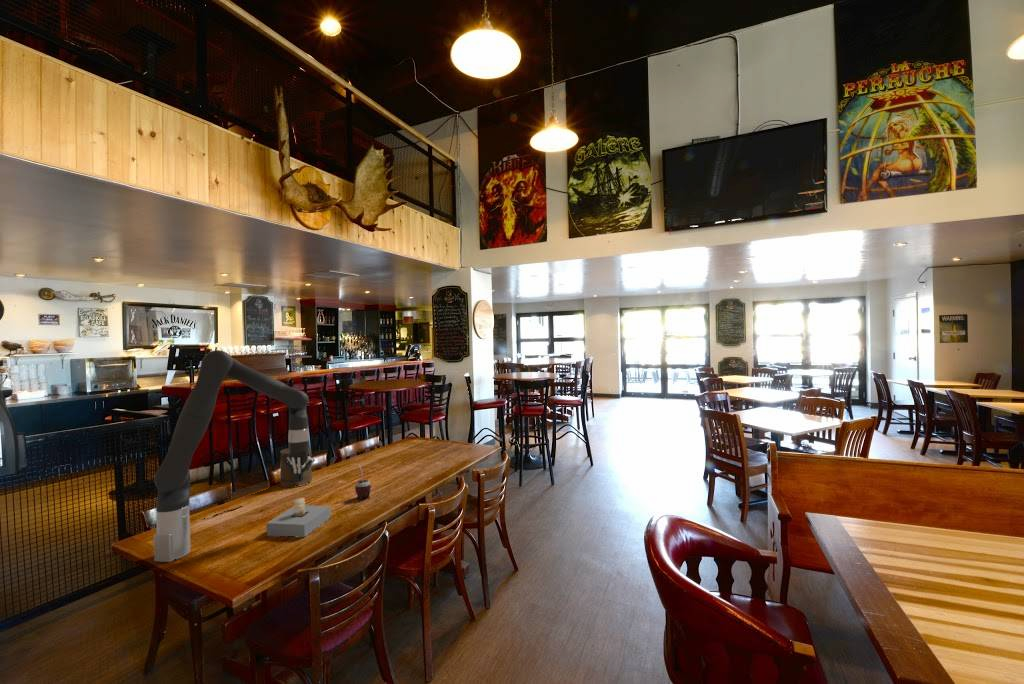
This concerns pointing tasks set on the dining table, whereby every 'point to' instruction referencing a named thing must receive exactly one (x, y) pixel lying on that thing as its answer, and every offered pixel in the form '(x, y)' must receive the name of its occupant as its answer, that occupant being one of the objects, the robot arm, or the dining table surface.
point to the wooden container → (288, 476)
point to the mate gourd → (363, 488)
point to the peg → (299, 507)
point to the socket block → (298, 522)
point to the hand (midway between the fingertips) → (299, 481)
